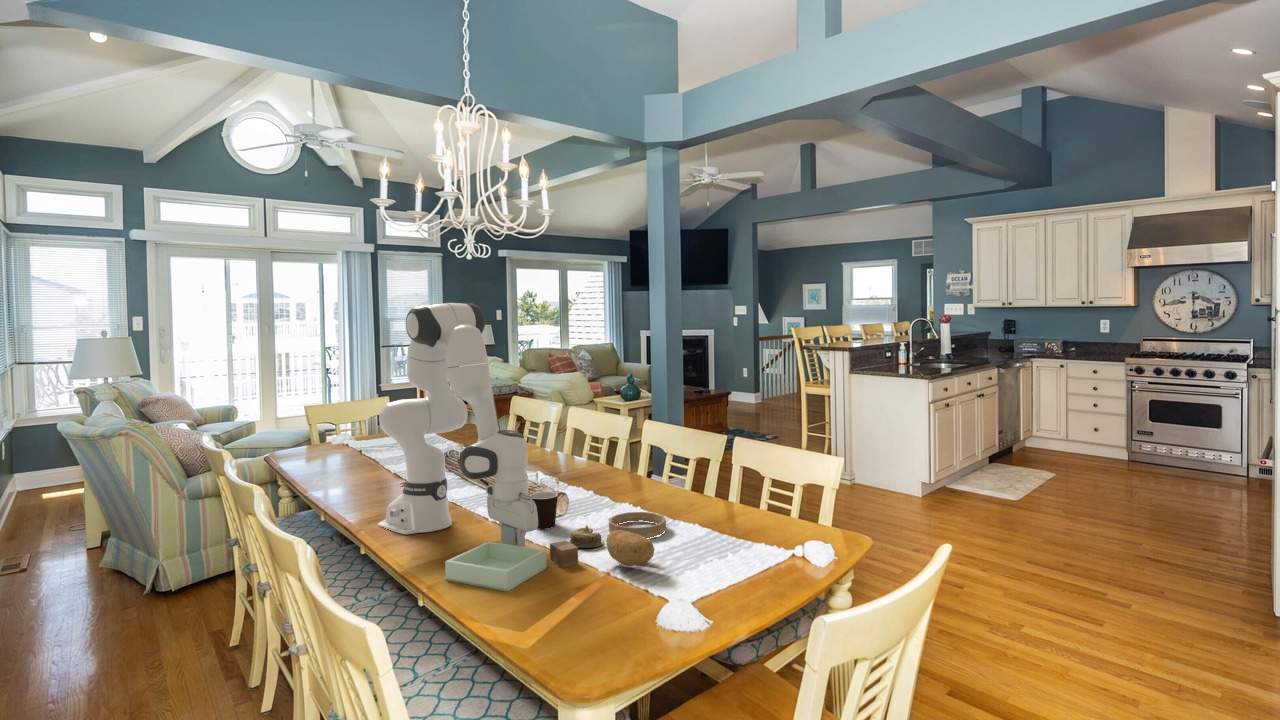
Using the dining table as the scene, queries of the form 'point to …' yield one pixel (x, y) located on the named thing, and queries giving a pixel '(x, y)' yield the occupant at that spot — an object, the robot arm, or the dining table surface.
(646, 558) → the potato
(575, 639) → the dining table surface
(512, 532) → the grey block
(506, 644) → the dining table surface
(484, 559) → the serving tray
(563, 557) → the walnut block
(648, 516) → the ring
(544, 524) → the coffee mug
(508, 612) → the dining table surface
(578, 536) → the cake
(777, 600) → the dining table surface
